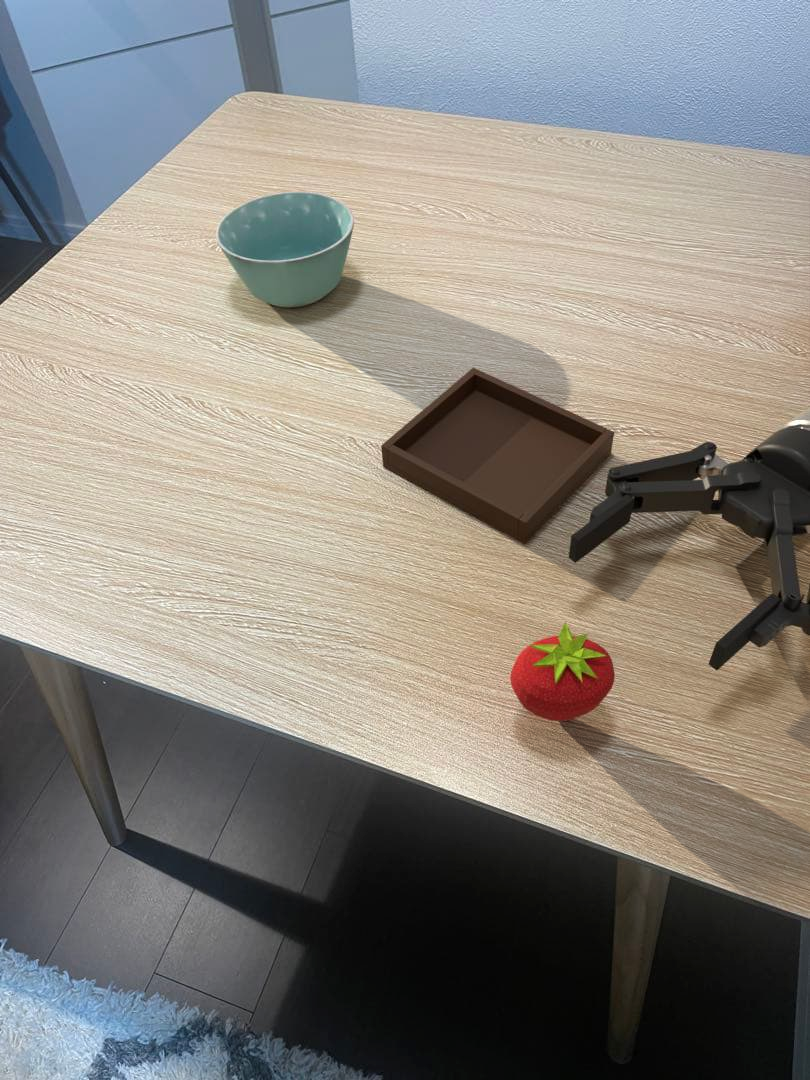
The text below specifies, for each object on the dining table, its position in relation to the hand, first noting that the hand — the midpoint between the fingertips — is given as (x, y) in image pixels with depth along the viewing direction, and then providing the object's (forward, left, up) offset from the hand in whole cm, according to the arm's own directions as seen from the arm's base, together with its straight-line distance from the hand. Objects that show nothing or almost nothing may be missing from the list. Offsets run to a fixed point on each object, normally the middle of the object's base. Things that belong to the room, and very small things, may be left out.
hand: (640, 600), depth 68 cm
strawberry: (+1, +8, -7) cm, 11 cm away
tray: (+21, -12, -7) cm, 25 cm away
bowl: (+58, -22, -7) cm, 63 cm away
